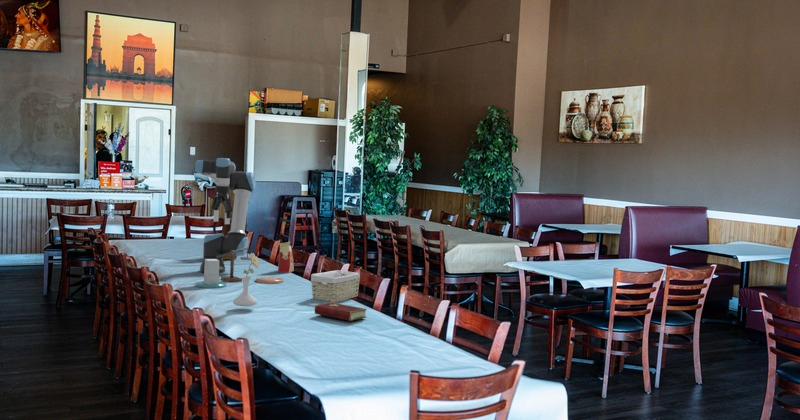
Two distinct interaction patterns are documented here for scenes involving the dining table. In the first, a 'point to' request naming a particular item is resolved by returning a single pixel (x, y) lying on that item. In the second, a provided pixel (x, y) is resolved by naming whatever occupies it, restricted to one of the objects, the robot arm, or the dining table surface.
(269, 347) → the dining table surface
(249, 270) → the flower in vase
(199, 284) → the teal dish
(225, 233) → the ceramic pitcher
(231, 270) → the balance
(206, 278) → the small box
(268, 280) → the terracotta dish
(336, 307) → the hardcover book
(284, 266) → the milk carton
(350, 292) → the storage basket
